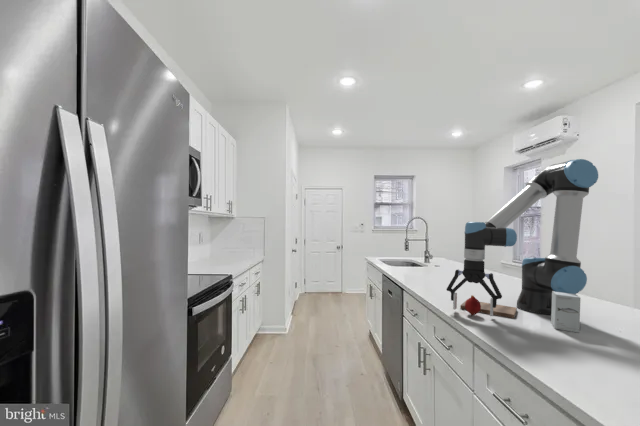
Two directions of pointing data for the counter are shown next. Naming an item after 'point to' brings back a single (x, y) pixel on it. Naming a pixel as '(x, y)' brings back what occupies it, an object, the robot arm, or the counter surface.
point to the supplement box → (565, 311)
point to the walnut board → (496, 310)
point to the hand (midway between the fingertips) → (472, 312)
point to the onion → (472, 305)
